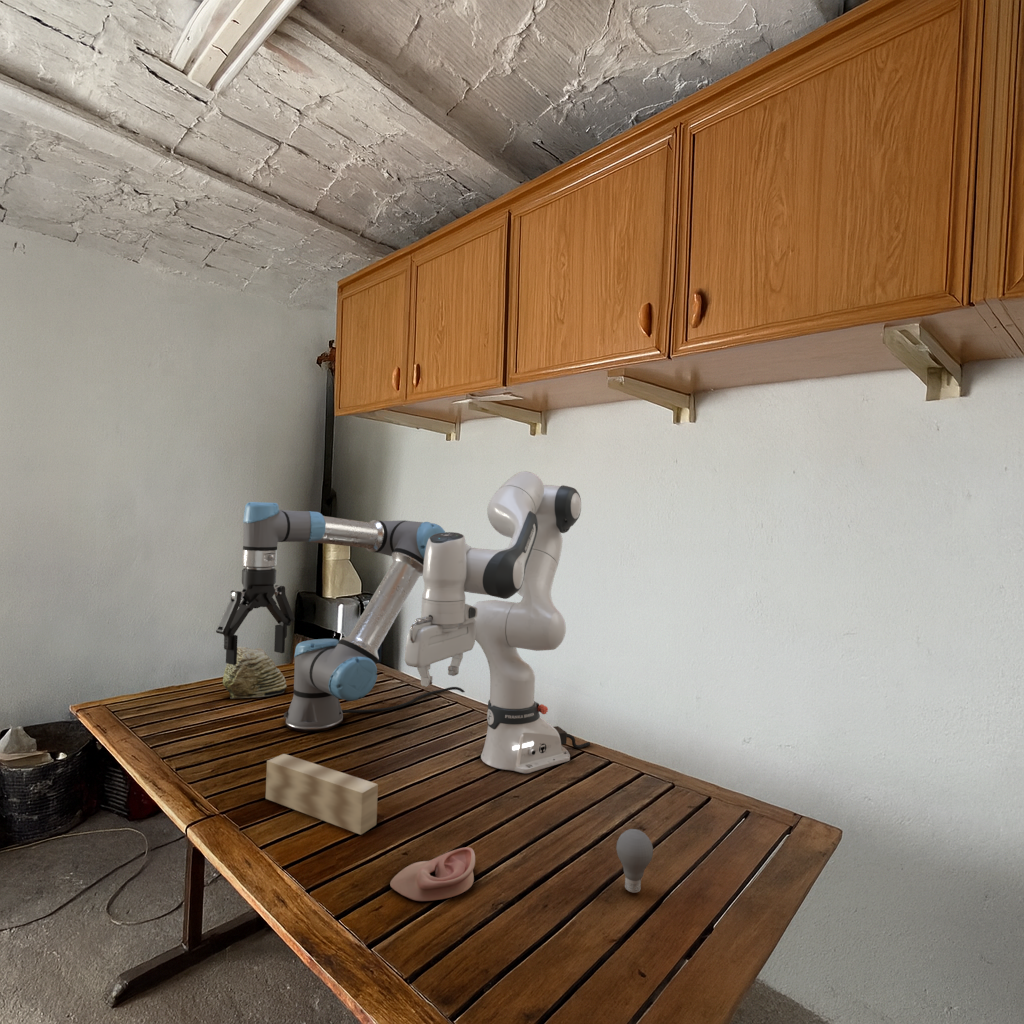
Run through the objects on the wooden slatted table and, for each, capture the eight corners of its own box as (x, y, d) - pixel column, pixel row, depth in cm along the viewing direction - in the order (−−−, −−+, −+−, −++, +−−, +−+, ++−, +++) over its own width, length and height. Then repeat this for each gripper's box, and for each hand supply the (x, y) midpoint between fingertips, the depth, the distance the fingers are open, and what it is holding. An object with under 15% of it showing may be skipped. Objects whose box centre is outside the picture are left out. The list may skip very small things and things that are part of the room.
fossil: (218, 695, 195) (220, 647, 195) (278, 685, 208) (279, 640, 207) (228, 703, 189) (230, 653, 188) (289, 692, 201) (290, 645, 201)
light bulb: (610, 879, 108) (613, 822, 108) (644, 879, 109) (647, 822, 109) (619, 902, 102) (622, 840, 102) (655, 901, 103) (658, 840, 103)
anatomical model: (383, 870, 101) (409, 834, 113) (382, 895, 101) (408, 856, 113) (463, 884, 99) (481, 845, 110) (461, 909, 99) (480, 868, 110)
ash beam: (265, 798, 132) (266, 760, 132) (282, 790, 136) (283, 753, 136) (360, 834, 120) (362, 793, 119) (376, 824, 123) (378, 784, 123)
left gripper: (223, 573, 136) (219, 671, 136) (311, 565, 158) (308, 650, 158) (200, 570, 139) (197, 666, 140) (289, 562, 161) (286, 645, 162)
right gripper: (425, 622, 118) (422, 695, 119) (482, 608, 136) (479, 671, 136) (398, 617, 121) (395, 689, 122) (457, 604, 139) (454, 667, 139)
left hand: (256, 657), depth 149 cm, fingers open, 13 cm apart
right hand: (440, 680), depth 129 cm, fingers open, 8 cm apart
